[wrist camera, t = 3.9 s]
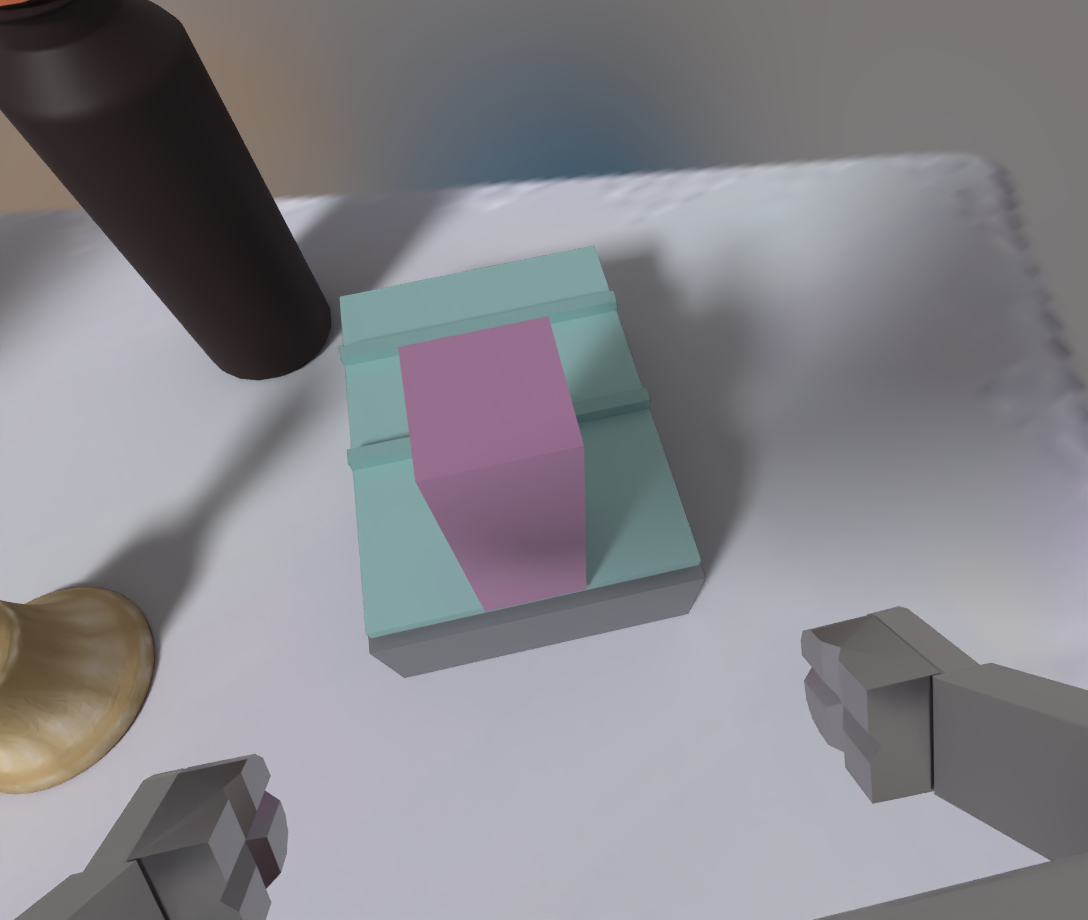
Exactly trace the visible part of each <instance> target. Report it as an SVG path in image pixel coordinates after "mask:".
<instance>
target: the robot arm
mask: <svg viewBox="0 0 1088 920" xmlns="http://www.w3.org/2000/svg"><path fill="white" fill-rule="evenodd" d="M801 649H802V656H803V657H804V658H805V659H806V661H807V662H808V663H809V664H810V665H811V667H812V668H811V670H810V671H809V673H808V675H807V676H806V678H805V680H804V684H805V692H806V700H807V703H808V706H809V710H810V713H811V716H812V719H813V721H814V723H815V725H816V726H817V728H818V730H819V732H820V734H821V735H822V736H823V738H824V739H825V741H826V742H827V743H828V745H830V746H832V747H834V748H836V749H839V750H841V751H843V752H844V757H845V768H846V769H847V770H848V772H849V773H850V774H851V776H852V777H853V778H854V780H855V781H856V782H857V784H858V785H859V786H860V788H861V789H862V790H863V792H864V793H865V794H866V796H867V797H868V798H869V800H870V801H871V802H872V804H874V803H878V802H883V801H888V800H893V799H898V798H903V797H908V796H912V795H917V794H922V793H927V792H932V791H934V794H935V795H937V796H939V797H940V798H942V799H944V800H946V801H947V802H949V803H951V804H953V805H954V806H956V807H958V808H960V809H961V810H963V811H965V812H967V813H968V814H970V815H972V816H974V817H975V818H977V819H979V820H981V821H982V822H984V823H986V824H988V825H989V826H991V827H993V828H995V829H996V830H998V831H1000V832H1002V833H1003V834H1005V835H1007V836H1009V837H1010V838H1012V839H1014V840H1016V841H1017V842H1019V843H1021V844H1023V845H1024V846H1026V847H1028V848H1030V849H1031V850H1033V851H1035V852H1037V853H1038V854H1040V855H1042V856H1044V857H1045V858H1047V859H1049V860H1051V861H1050V862H1045V863H1041V864H1037V865H1033V866H1029V867H1025V868H1021V869H1017V870H1013V871H1009V872H1005V873H1001V874H997V875H993V876H989V877H985V878H981V879H977V880H973V881H969V882H964V883H960V884H956V885H952V886H948V887H944V888H940V889H936V890H932V891H928V892H924V893H920V894H916V895H912V896H908V897H904V898H900V899H896V900H892V901H888V902H884V903H880V904H875V905H871V906H867V907H863V908H859V909H855V910H851V911H847V912H842V913H838V914H834V915H830V916H826V917H822V918H818V919H814V920H1088V690H1084V689H1081V688H1077V687H1074V686H1070V685H1067V684H1063V683H1060V682H1056V681H1053V680H1049V679H1046V678H1042V677H1039V676H1035V675H1032V674H1028V673H1025V672H1021V671H1018V670H1015V669H1011V668H1008V667H1004V666H1001V665H997V664H994V663H988V664H983V665H980V664H978V663H977V662H976V661H975V660H973V659H972V658H971V657H969V656H968V655H967V654H966V653H964V652H963V651H962V650H960V649H959V648H958V647H956V646H955V645H954V644H953V643H951V642H950V641H949V640H947V639H946V638H945V637H944V636H942V635H941V634H940V633H938V632H937V631H936V630H935V629H933V628H932V627H931V626H929V625H928V624H927V623H926V622H924V621H923V620H922V619H920V618H919V617H918V616H917V615H915V614H914V613H913V612H911V611H910V610H909V609H907V608H904V607H900V606H898V607H894V608H890V609H886V610H883V611H879V612H875V613H871V614H867V616H863V617H859V618H854V619H850V620H846V621H842V622H838V623H833V624H829V625H825V626H821V627H817V628H812V629H808V630H804V631H803V632H802V637H801ZM270 776H271V775H270V773H269V771H268V769H267V766H266V764H265V762H264V759H263V758H262V757H260V756H258V755H256V754H251V755H246V756H241V757H236V758H232V759H227V760H222V761H217V762H212V763H207V764H202V765H197V766H192V767H188V768H186V769H178V770H174V771H169V772H165V773H160V774H156V775H153V776H151V777H149V778H147V779H146V780H144V781H143V782H142V783H141V785H140V787H139V788H138V790H137V791H136V793H135V794H134V796H133V797H132V799H131V800H130V802H129V803H128V805H127V806H126V808H125V809H124V811H123V812H122V814H121V815H120V817H119V818H118V820H117V821H116V823H115V824H114V826H113V827H112V829H111V830H110V832H109V833H108V835H107V836H106V838H105V840H104V841H103V843H102V844H101V846H100V847H99V849H98V850H97V852H96V853H95V855H94V856H93V858H92V859H91V861H90V862H89V864H88V865H87V867H86V868H85V870H84V871H83V872H82V873H77V874H73V875H70V876H69V877H68V878H67V879H65V880H64V881H63V882H61V883H60V884H59V885H58V886H56V887H55V888H54V889H53V890H51V891H50V892H49V893H47V894H46V895H45V896H44V897H42V898H41V899H40V900H39V901H37V902H36V903H35V904H33V905H32V906H31V907H30V908H28V909H27V910H26V911H25V912H23V913H22V914H21V915H19V916H18V917H17V918H16V919H14V920H266V917H267V914H268V911H269V908H270V905H271V900H270V898H269V895H268V893H267V890H266V889H267V887H268V886H269V885H270V884H271V883H272V882H273V881H274V880H275V879H276V878H277V877H278V876H279V874H280V873H281V871H282V868H283V865H284V861H285V858H286V855H287V841H288V828H287V822H286V816H285V812H284V810H283V807H282V804H281V801H280V800H278V799H277V798H275V797H274V796H272V795H271V794H269V793H268V792H266V791H265V789H266V787H267V784H268V782H269V779H270Z"/></svg>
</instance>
